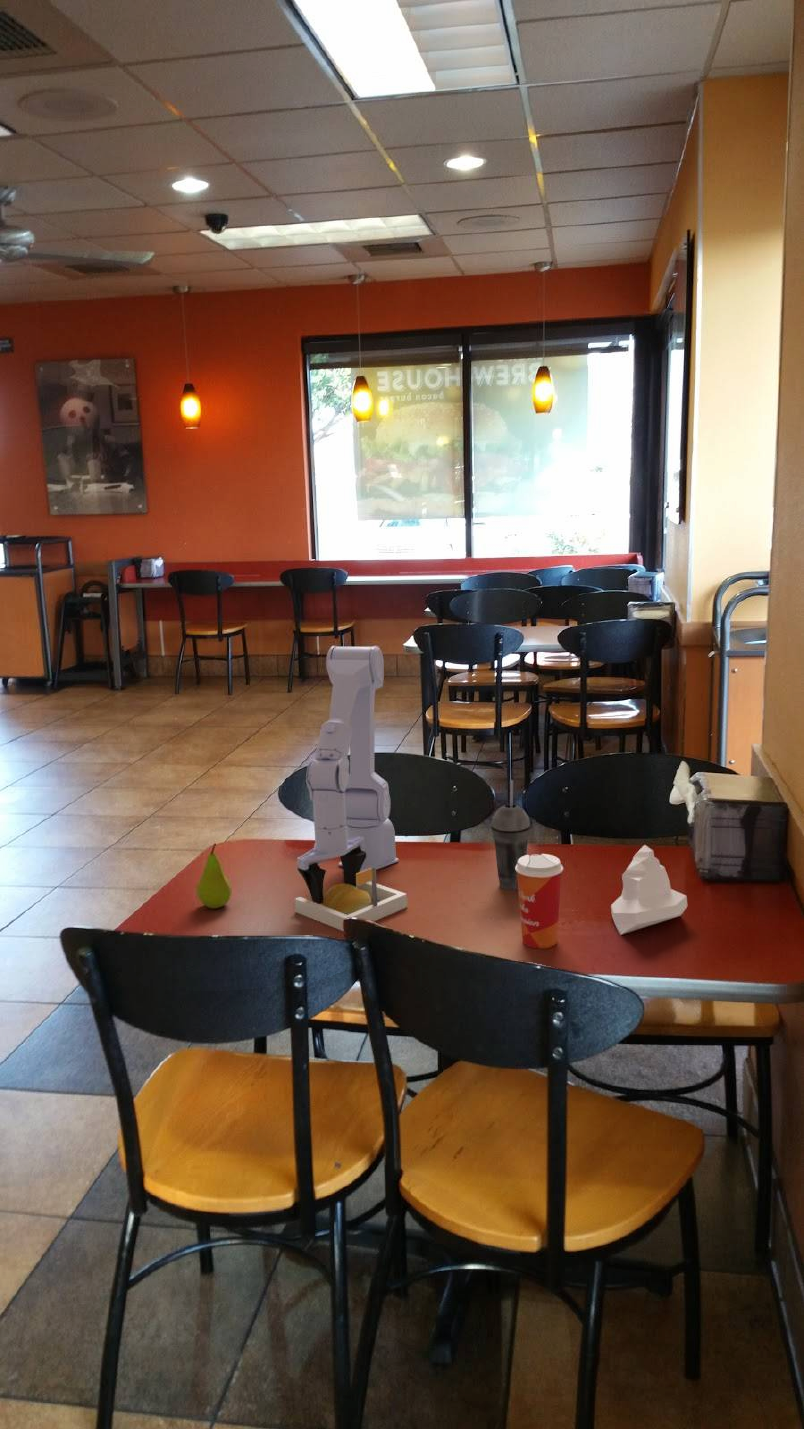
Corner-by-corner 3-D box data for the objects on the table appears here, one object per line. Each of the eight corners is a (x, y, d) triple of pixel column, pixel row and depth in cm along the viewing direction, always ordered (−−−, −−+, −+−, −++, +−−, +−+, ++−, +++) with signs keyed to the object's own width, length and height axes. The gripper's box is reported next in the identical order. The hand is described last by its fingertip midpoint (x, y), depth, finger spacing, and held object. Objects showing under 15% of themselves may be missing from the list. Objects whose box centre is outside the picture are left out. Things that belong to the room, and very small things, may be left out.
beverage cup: (487, 890, 196) (484, 786, 192) (498, 876, 203) (496, 775, 199) (525, 894, 194) (523, 789, 189) (535, 880, 200) (534, 778, 196)
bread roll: (346, 922, 185) (345, 900, 184) (315, 907, 191) (313, 887, 190) (382, 908, 190) (381, 887, 189) (351, 895, 197) (350, 874, 196)
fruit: (190, 907, 194) (185, 845, 191) (217, 897, 198) (212, 835, 196) (213, 916, 190) (208, 852, 187) (240, 904, 194) (235, 842, 191)
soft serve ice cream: (588, 932, 180) (579, 849, 181) (654, 919, 188) (646, 839, 188) (638, 940, 170) (629, 850, 170) (706, 925, 177) (697, 840, 178)
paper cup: (512, 933, 178) (511, 853, 175) (557, 930, 178) (557, 850, 175) (521, 953, 170) (520, 871, 167) (568, 950, 171) (568, 867, 168)
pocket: (354, 888, 200) (352, 840, 198) (407, 906, 190) (405, 856, 188) (295, 911, 190) (292, 861, 188) (347, 932, 180) (344, 880, 178)
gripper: (345, 810, 198) (349, 879, 201) (284, 830, 188) (289, 902, 191) (371, 817, 193) (374, 888, 196) (310, 838, 183) (314, 912, 186)
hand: (334, 895), depth 193 cm, fingers open, 7 cm apart
